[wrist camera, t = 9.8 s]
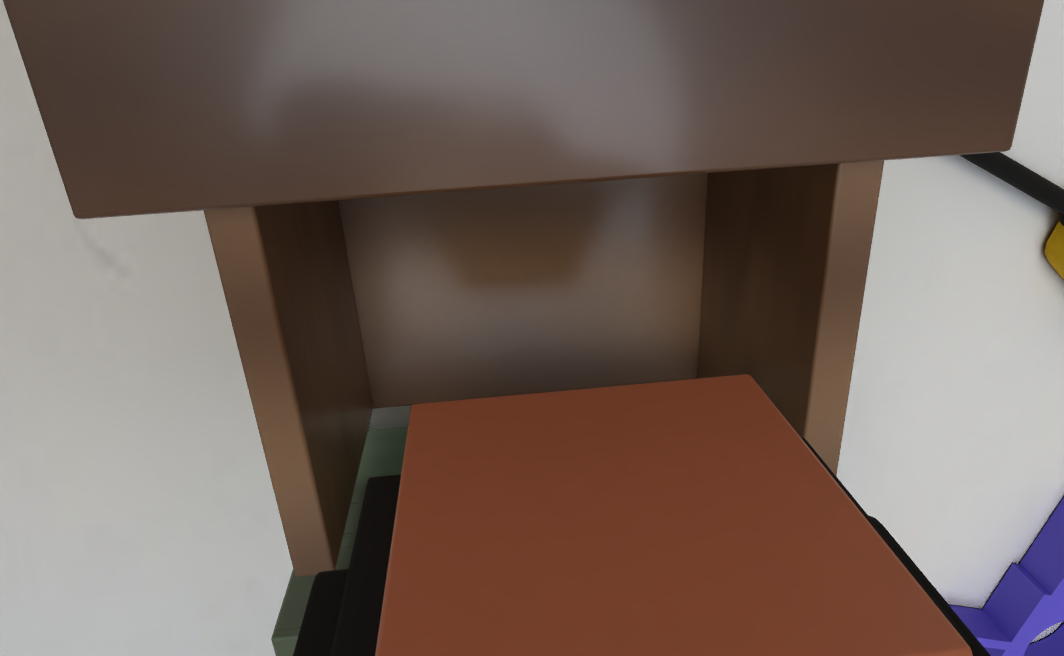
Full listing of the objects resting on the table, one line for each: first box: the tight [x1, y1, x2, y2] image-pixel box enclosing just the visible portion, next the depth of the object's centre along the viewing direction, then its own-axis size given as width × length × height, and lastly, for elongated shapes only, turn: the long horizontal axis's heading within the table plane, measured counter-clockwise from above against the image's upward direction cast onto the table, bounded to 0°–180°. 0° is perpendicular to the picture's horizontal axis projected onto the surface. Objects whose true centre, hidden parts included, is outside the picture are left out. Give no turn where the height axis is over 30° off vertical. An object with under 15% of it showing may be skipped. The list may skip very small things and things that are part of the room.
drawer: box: [204, 160, 884, 656], centre depth 17 cm, size 18×12×8 cm
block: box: [375, 374, 973, 656], centre depth 9 cm, size 5×5×5 cm
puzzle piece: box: [949, 497, 1064, 656], centre depth 28 cm, size 10×12×2 cm
